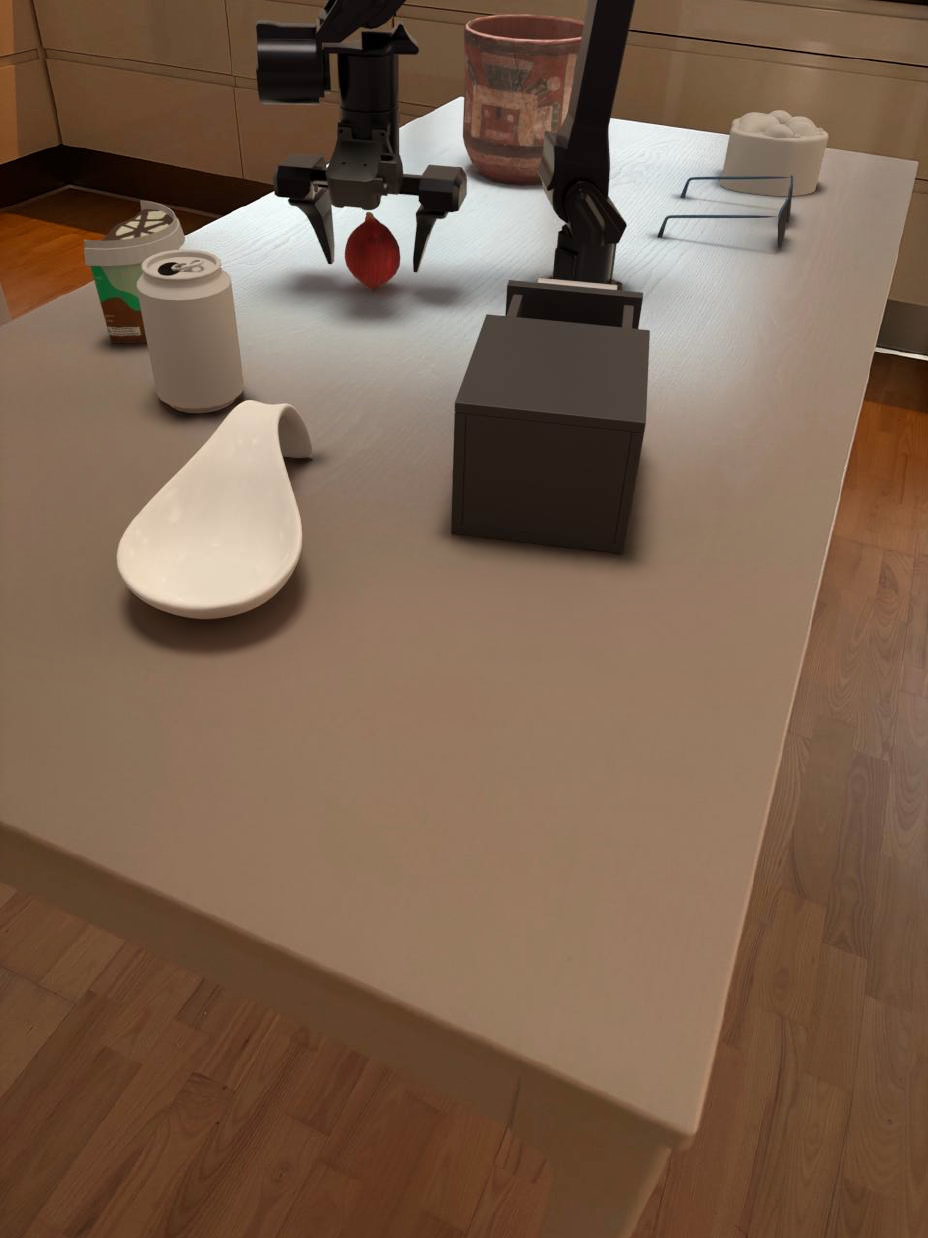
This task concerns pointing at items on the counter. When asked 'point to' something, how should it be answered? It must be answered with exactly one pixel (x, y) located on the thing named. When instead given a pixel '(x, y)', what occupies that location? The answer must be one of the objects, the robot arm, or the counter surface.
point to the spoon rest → (222, 520)
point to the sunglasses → (783, 215)
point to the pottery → (516, 90)
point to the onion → (372, 253)
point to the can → (191, 330)
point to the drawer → (574, 302)
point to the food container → (130, 266)
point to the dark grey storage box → (550, 433)
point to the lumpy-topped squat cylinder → (774, 154)
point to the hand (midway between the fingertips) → (373, 266)
